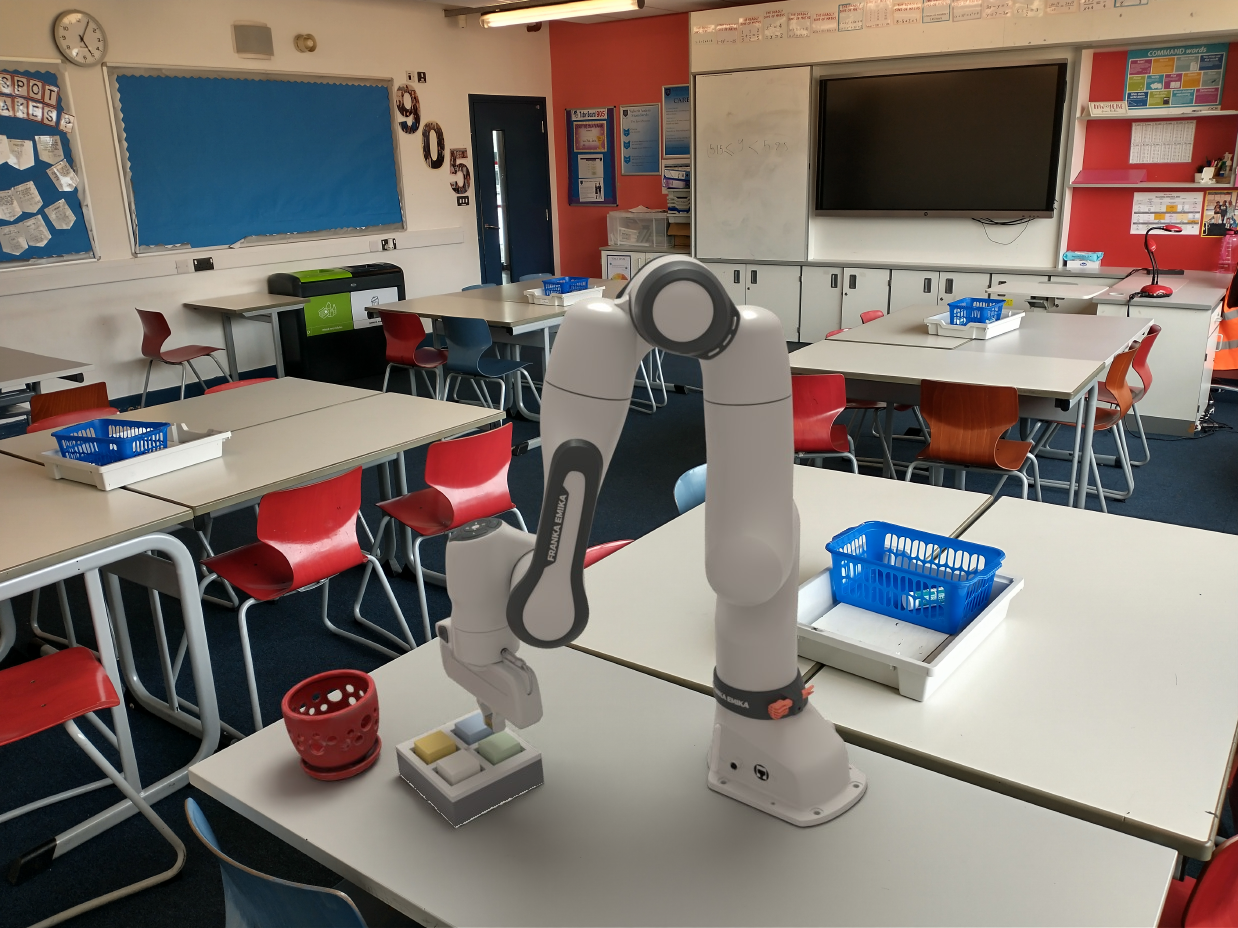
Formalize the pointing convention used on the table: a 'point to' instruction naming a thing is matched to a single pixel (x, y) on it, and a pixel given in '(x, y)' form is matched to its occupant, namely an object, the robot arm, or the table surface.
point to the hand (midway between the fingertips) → (494, 727)
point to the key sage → (498, 747)
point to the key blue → (472, 729)
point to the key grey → (457, 767)
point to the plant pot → (334, 724)
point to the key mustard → (434, 747)
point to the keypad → (477, 789)
